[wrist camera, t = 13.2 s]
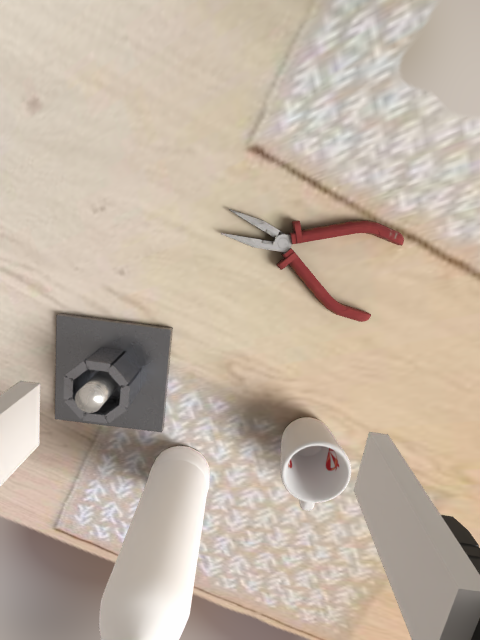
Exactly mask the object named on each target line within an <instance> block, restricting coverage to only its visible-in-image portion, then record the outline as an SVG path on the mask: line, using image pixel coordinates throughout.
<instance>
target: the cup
mask: <svg viewBox="0 0 480 640" xmlns="http://www.w3.org/2000/svg"><path fill="white" fill-rule="evenodd" d="M350 476H351V465H350V461H349V459H348V457H347V455H346V453H345V452H344V450H343V449H342V447H341V446H340V444H339V443H338V441H337V440H336V438H335V436H334V435H333V433H332V432H331V430H330V429H329V428H328V427H327V426H326V425H325V424H324V423H323V422H322V421H320V420H318V419H315V418H311V417H303V418H299V419H296V420H294V421H293V422H291V423H290V424H289V425H288V426H287V427H286V429H285V430H284V432H283V435H282V440H281V478H282V482H283V484H284V486H285V488H286V489H287V491H288V492H289V493H290V494H291V495H293V496H294V497H296V498H297V499H299V502H300V506H301V508H302V509H303V510H312V509H313V508H314V504H315V503H321V502H325V501H329V500H331V499H333V498H335V497H337V496H338V495H339V494H340V493H342V492H343V490H344V489H345V488H346V486H347V485H348V483H349V480H350Z"/></svg>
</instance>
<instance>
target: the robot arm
mask: <svg viewBox="0 0 480 640" xmlns="http://www.w3.org/2000/svg"><path fill="white" fill-rule="evenodd" d="M39 432H40V384H39V383H33V382H26V381H20V382H18V383H17V384H15V385H14V386H13V387H11V388H10V389H8V390H7V391H5V392H4V393H2V394H1V395H0V486H1V485H2V484H3V483H4V482H5V481H6V480H7V479H8V478H9V477H10V476H11V474H12V473H13V472H14V471H15V470H16V469H17V468H18V467H19V466H20V465H21V464H22V463H23V462H24V461H25V460H26V459H27V457H28V456H29V455H30V454H31V453H32V452H33V451H34V450H35V449H36V448H37V447H38V446H39ZM354 492H355V495H356V497H357V500H358V503H359V505H360V508H361V510H362V513H363V515H364V518H365V521H366V523H367V526H368V528H369V531H370V533H371V536H372V539H373V541H374V544H375V546H376V549H377V551H378V554H379V557H380V559H381V562H382V564H383V567H384V569H385V572H386V574H387V577H388V580H389V582H390V585H391V587H392V590H393V592H394V595H395V598H396V600H397V603H398V605H399V608H400V610H401V613H402V616H403V618H404V621H405V623H406V626H407V628H408V631H409V633H410V636H411V639H412V640H480V548H479V545H478V544H477V542H476V541H475V539H474V538H473V537H472V535H471V534H470V532H469V531H468V530H467V529H466V528H465V527H464V526H463V525H461V524H460V523H459V522H458V521H457V520H456V519H455V518H454V517H451V516H444V515H440V513H439V512H438V510H437V509H436V507H435V506H434V504H433V503H432V501H431V499H430V498H429V496H428V495H427V493H426V492H425V490H424V489H423V487H422V486H421V484H420V483H419V481H418V480H417V478H416V477H415V475H414V473H413V472H412V470H411V469H410V467H409V466H408V464H407V463H406V461H405V460H404V458H403V457H402V455H401V454H400V452H399V451H398V449H397V447H396V446H395V444H394V443H393V441H392V440H391V438H390V437H389V435H388V434H381V433H374V432H369V434H368V438H367V442H366V445H365V449H364V453H363V457H362V461H361V464H360V468H359V472H358V476H357V480H356V483H355V487H354Z"/></svg>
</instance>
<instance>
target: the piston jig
mask: <svg viewBox="0 0 480 640" xmlns="http://www.w3.org/2000/svg"><path fill="white" fill-rule="evenodd" d="M172 329H173V328H171V327H163V326H155V325H147V324H140V323H132V322H124V321H116V320H109V319H101V318H93V317H85V316H77V315H70V314H62V313H60V314H58V315H57V328H56V390H55V419H59V420H67V421H75V422H83V423H91V424H99V425H107V426H115V427H124V428H132V429H140V430H148V431H156V432H162V431H163V428H164V418H165V407H166V395H167V384H168V373H169V362H170V351H171V340H172ZM102 347H107V348H114V349H121V350H124V353H125V352H126V351H127V352H128V353H129V354H130V356H131V357H132V358H133V359H134V360H135V361H136V363H137V364H138V365H139V366H140V367H141V368H140V369H139V370H142V372H141V384H140V391H139V393H138V394H137V396H136V397H135V399H134V400H133V402H132V403H131V405H130V406H129V408H128V409H127V410H126V411H125V412H124V413H122V414H121V415H120V416H118V417H117V418H115V419H114V420H113V421H111V422H110V423H109V422H107V424H106V423H98V422H91V421H83V418H81V419H80V418H79V417H78V416H77V415H76V414H75V413H74V411H73V410H72V409H71V408H70V407H69V406H68V405H67V404H66V403H65V401H66V399H64V377H65V376H66V374H67V373H68V372H70V371H71V370H72V369H73V368H75V367H76V366H77V365H78V364H80V363H81V362H82V361H83V360H85V359H86V358H87V357H89V356H90V355H91V354H92V353H94V352H95V351H96V350H98V349H99V348H102ZM120 392H121V386H120V385H119V384H118V383H117V382H116V381H115V380H114V378H113V377H112V376H111V375H110V374H109V373H108V372H105V371H97V370H91V371H90V380H89V381H88V382H87V383H86V384H85V385H84V386H83V387H82V388H81V389H80V390H79V391H78V392H77V393H76V396H75V402H76V405H77V406H78V407H79V408H80V409H81V410H82V411H84V412H87V413H93V412H96V411H98V410H99V409H100V408H101V407H102V405H103V404H104V403H105V402H106V401H107V399H108V398H109V397H110V396H116V397H120Z"/></svg>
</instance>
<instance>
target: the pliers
mask: <svg viewBox="0 0 480 640" xmlns="http://www.w3.org/2000/svg"><path fill="white" fill-rule="evenodd" d="M229 210H230V211H231V212H233V213H235V214H236V215H238V216H240V217H241V218H243V219H244V220H246V221H248V222H249V223H251V224H253V225H254V226H256V227H257V228H259V229H261V230H262V231H264V232H266V233H268V234H269V235H271V236H273V237H274V238H275V239H274V241H266V240H262V239H256V238H249V237H243V236H237V235H231V234H225V233H221V234H222V235H225V236H227V237H229V238H232V239H234V240H237V241H239V242H242V243H244V244H247V245H249V246H252V247H255V248H261V249H267V250H273V251H279V252H282V256H283V257H284V258H283V259H282V260H281V261H280V262H279V263H278V264H277V266H278V267H279V268H280V269H281V270H282V269H283V268H285V267H286V266H287V265H288V264H289V265H290V267H291V268H292V269H293V270H294V271H295V273H296V274H297V275H298V276H299V277H300V279H301V280H302V281H303V282H304V283H305V285H306V286H307V287H308V288H309V289H310V291H311V292H312V293H313V294H314V295H315V297H316V298H317V299H318V300H319V301H320V302H321V303H322V304H323V305H324V306H325V307H326V308H327V309H329V310H330V311H331V312H333V313H335V314H337V315H340V316H343V317H347V318H350V319H353V320H356V321H361V322H362V321H366V320H368V319H369V318H370V316H371V314H369V313H367V312H364V311H361V310H358V309H355V308H352V307H349V306H346V305H343V304H341V303H339V302H337V301H336V300H334V299H333V298H332V297H331V296H330V295H329V293H328V292H327V291H326V290H325V289H324V287H323V286H322V285H321V284H320V282H319V281H318V280H317V279H316V278H315V276H314V275H313V274H312V273H311V272H310V270H309V269H308V268H307V267H306V266H305V264H304V263H303V262H302V261H301V259H300V258H299V257H298V256H297V255H296V253H295V252H294V251H293V250H292V249H291V248H290V247H291V245H292V244H297V243H303V242H309V241H314V240H320V239H326V238H332V237H337V236H343V235H349V234H355V233H368V234H372V235H375V236H377V237H380V238H382V239H384V240H387V241H389V242H392V243H394V244H397V245H402V244H403V242H404V238H403V236H402V235H401V234H400V233H399V232H397V231H395V230H393V229H390V228H388V227H386V226H383V225H381V224H379V223H377V222H373V221H351V222H345V223H339V224H334V225H328V226H322V227H316V228H311V229H305V230H301V225H300V221H294V222H292V225H293V232H292V233H289V235H286V234H284V233H282V232H281V231H280V230H278V229H276V228H275V227H273V226H272V225H270V224H268V223H267V222H265V221H263V220H261V219H258V218H255V217H252V216H249V215H246V214H243V213H240V212H237V211H234V210H231V209H229Z"/></svg>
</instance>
